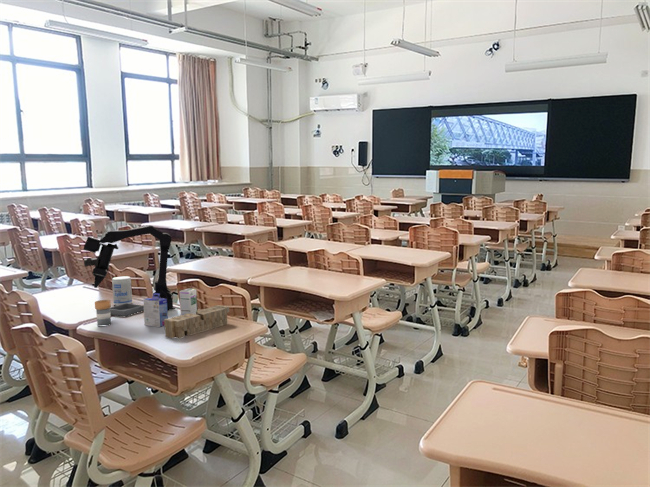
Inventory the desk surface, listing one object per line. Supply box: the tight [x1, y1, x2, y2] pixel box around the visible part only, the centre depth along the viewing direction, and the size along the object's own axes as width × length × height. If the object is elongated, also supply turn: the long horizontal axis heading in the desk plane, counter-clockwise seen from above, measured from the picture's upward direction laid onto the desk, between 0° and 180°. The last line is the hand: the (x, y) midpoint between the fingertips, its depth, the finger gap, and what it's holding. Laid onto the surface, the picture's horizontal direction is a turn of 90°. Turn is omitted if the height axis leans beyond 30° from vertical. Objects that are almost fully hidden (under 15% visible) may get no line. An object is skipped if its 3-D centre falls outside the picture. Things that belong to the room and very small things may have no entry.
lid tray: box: [110, 303, 144, 317], centre depth 249 cm, size 12×12×3 cm
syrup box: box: [179, 288, 199, 316], centre depth 233 cm, size 6×6×14 cm
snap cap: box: [94, 299, 112, 310], centre depth 227 cm, size 7×7×3 cm
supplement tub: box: [111, 276, 133, 306], centre depth 268 cm, size 10×10×15 cm
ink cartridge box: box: [142, 292, 169, 328], centre depth 225 cm, size 10×6×14 cm, turn 65°
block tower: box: [164, 304, 230, 339], centre depth 217 cm, size 8×8×29 cm
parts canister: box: [95, 307, 112, 326], centre depth 228 cm, size 6×6×8 cm
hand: (95, 285), depth 241 cm, fingers open, 9 cm apart
